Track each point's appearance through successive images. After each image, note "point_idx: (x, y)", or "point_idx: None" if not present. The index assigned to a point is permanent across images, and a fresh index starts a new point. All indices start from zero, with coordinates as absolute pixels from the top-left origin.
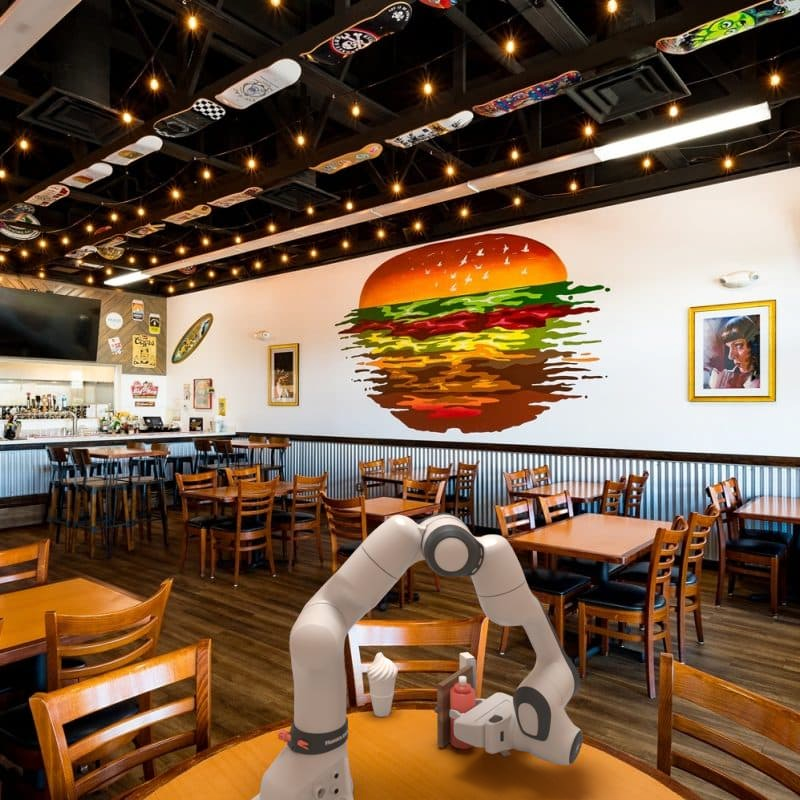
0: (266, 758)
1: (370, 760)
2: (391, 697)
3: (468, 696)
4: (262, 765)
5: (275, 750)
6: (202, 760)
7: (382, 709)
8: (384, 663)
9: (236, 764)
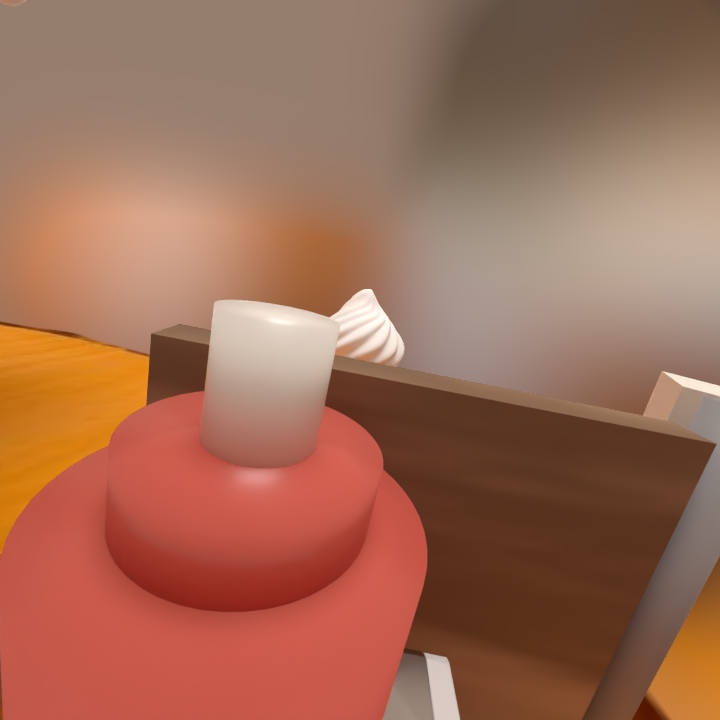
0: (48, 365)
1: (10, 494)
2: None
3: (16, 640)
4: (13, 364)
5: (87, 369)
6: (46, 332)
7: None
8: (352, 313)
9: (24, 348)
